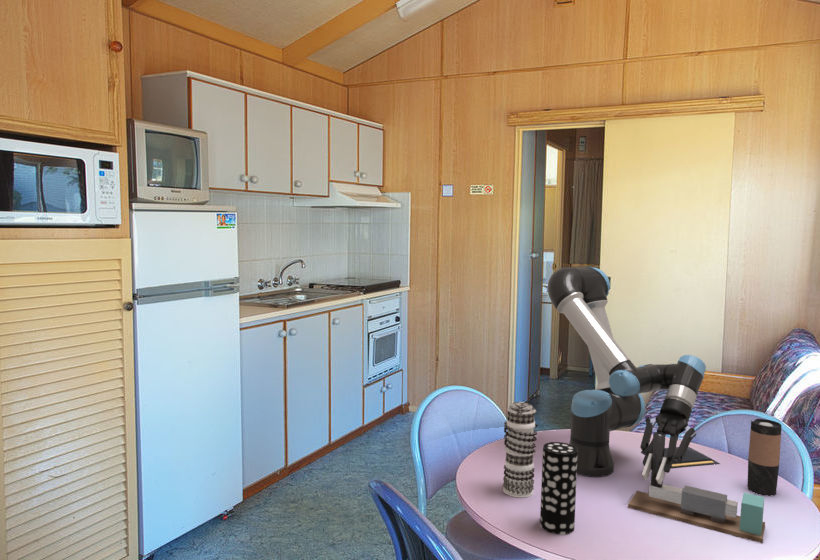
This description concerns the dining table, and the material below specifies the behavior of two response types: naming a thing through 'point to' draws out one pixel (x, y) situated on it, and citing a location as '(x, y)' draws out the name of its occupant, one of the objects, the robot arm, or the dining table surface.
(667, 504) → the base board
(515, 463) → the decorative candle
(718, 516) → the grey notched block
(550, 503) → the white-spotted black cylinder
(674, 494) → the grey two-tone fixture
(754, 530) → the socket
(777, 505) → the dining table surface
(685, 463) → the black book
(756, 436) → the travel mug
